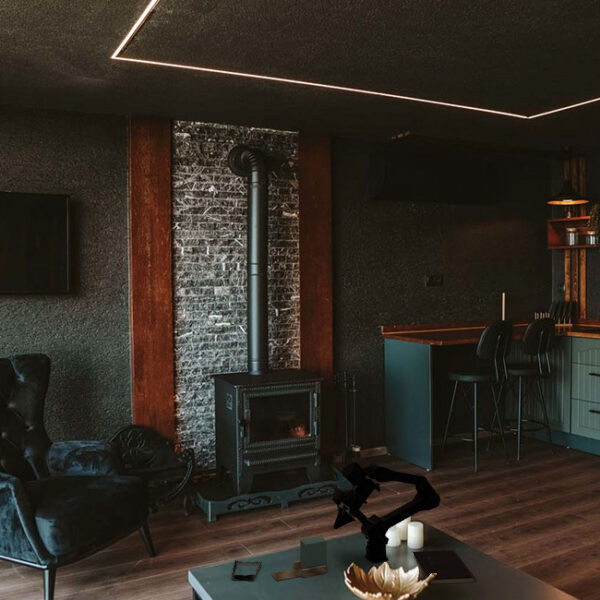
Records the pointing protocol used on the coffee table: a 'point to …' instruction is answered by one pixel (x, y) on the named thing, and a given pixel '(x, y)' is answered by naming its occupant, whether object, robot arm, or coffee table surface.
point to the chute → (299, 572)
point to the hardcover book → (443, 566)
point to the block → (313, 552)
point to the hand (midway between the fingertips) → (334, 528)
